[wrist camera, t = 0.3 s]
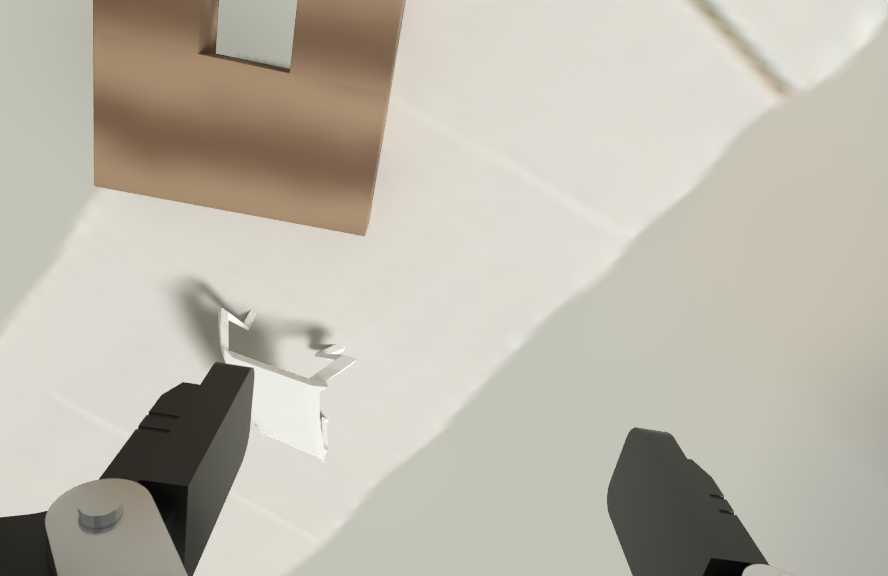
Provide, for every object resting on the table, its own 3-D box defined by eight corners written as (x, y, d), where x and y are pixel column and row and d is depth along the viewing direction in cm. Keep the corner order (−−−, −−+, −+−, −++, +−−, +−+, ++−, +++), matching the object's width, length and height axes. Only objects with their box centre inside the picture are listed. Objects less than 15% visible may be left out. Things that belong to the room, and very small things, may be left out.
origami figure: (392, 365, 44) (388, 402, 39) (324, 440, 46) (313, 483, 42) (253, 266, 41) (232, 293, 36) (187, 351, 43) (159, 387, 38)
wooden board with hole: (122, -252, 30) (91, -282, 28) (433, -171, 32) (434, -193, 29) (118, 176, 38) (94, 185, 35) (368, 223, 40) (364, 236, 37)
